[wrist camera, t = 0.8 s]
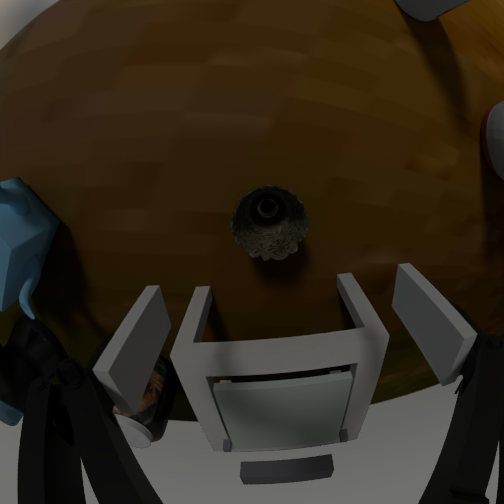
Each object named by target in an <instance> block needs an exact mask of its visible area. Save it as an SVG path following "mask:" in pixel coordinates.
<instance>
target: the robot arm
mask: <svg viewBox="0 0 504 504" xmlns="http://www.w3.org/2000/svg"><path fill="white" fill-rule="evenodd" d="M392 307H393V309H394V310H395V312H396V313H397V315H398V316H399V317H400V319H401V320H402V322H403V323H404V325H405V326H406V328H407V329H408V331H409V333H410V334H411V336H412V337H413V339H414V340H415V342H416V343H417V345H418V347H419V348H420V350H421V351H422V353H423V355H424V356H425V358H426V359H427V361H428V363H429V364H430V366H431V368H432V369H433V371H434V373H435V374H436V376H437V378H438V380H439V381H440V383H441V385H442V386H445V385H447V384H450V383H452V382H455V381H456V379H457V377H458V375H459V373H461V374H462V376H463V379H462V381H461V382H460V384H459V386H458V388H457V390H456V392H455V394H457V392H458V391H459V393H458V398H457V401H456V405H455V409H454V413H453V417H452V420H451V424H450V427H449V430H448V433H447V436H446V440H445V442H444V445H443V448H442V451H441V454H440V456H439V459H438V462H437V464H436V466H435V469H434V471H433V474H432V476H431V478H430V480H429V482H428V485H427V487H426V489H425V491H424V493H423V495H422V497H421V499H420V501H419V503H418V504H489V499H488V498H486V497H485V492H486V488H487V486H488V482H489V479H490V475H491V472H492V468H493V464H494V460H495V456H496V451H497V446H498V441H499V478H498V490H497V499H496V504H504V342H503V340H502V339H501V338H500V337H498V336H496V335H494V334H487V335H485V333H484V332H483V331H482V330H481V329H480V328H479V327H478V325H477V324H476V323H475V322H474V321H473V320H472V319H470V317H469V316H468V314H466V312H465V311H464V310H463V309H462V308H461V307H460V306H458V305H456V304H455V303H453V302H450V303H449V302H448V301H447V300H446V299H445V298H444V297H443V296H442V295H441V294H440V293H439V292H438V290H437V289H436V288H435V287H434V286H433V285H432V284H431V283H430V282H429V281H428V280H427V279H426V278H425V277H423V276H422V275H421V274H420V273H419V272H418V271H417V270H416V269H415V268H414V267H413V266H412V265H411V264H410V263H406V264H398V270H397V277H396V284H395V291H394V297H393V302H392ZM170 328H171V323H170V320H169V317H168V313H167V310H166V307H165V304H164V300H163V297H162V293H161V290H160V286H159V285H158V286H147V287H146V288H145V290H144V291H143V293H142V294H141V295H140V297H139V298H138V300H137V301H136V303H135V304H134V306H133V307H132V309H131V310H130V312H129V313H128V315H127V316H126V318H125V319H124V321H123V322H122V324H121V325H120V327H119V328H118V330H117V331H116V333H115V334H114V333H111V334H109V335H108V336H107V337H106V338H104V339H103V341H102V342H101V344H100V345H99V348H97V350H96V351H95V354H93V356H92V357H91V359H90V361H89V362H88V364H87V365H86V367H85V368H83V367H82V365H81V363H80V362H79V360H78V359H76V358H68V359H66V355H65V352H64V350H63V348H62V346H61V344H60V343H59V341H58V340H57V338H56V337H55V336H54V334H53V333H52V332H51V331H50V330H49V329H48V328H47V327H46V326H45V325H44V324H43V323H41V322H40V321H39V320H37V319H34V320H33V319H31V318H30V317H29V316H28V315H24V316H22V317H21V318H20V319H19V320H18V321H17V322H16V323H15V325H14V327H13V329H12V332H11V334H10V337H9V339H8V342H7V344H6V345H5V346H4V347H2V346H1V344H0V420H1V421H2V422H4V423H5V424H7V425H10V426H15V425H17V424H18V422H19V421H20V419H21V418H22V416H24V417H23V424H22V430H21V438H20V447H19V459H18V460H19V461H18V504H86V500H85V494H84V487H83V479H82V469H81V459H82V462H83V465H84V468H85V471H86V473H87V476H88V479H89V481H90V484H91V486H92V489H93V491H94V493H95V495H96V498H97V500H98V502H99V504H163V503H162V501H161V500H160V498H159V497H158V495H157V493H156V492H155V490H154V489H153V487H152V486H151V484H150V482H149V481H148V479H147V477H146V476H145V474H144V472H143V470H142V469H141V467H140V465H139V463H138V461H137V460H136V458H135V456H134V454H133V452H132V450H131V448H130V446H129V444H128V442H127V440H126V438H125V436H124V434H123V432H122V430H121V427H120V425H119V423H118V421H117V418H116V416H115V414H114V413H113V412H112V410H113V408H114V406H116V407H117V409H118V410H119V411H120V413H125V414H131V415H136V412H137V409H138V407H139V404H140V401H141V399H142V396H143V394H144V391H145V389H146V386H147V384H148V381H149V379H150V376H151V374H152V371H153V369H154V366H155V364H156V361H157V359H158V356H159V354H160V352H161V349H162V347H163V344H164V342H165V340H166V337H167V335H168V333H169V330H170ZM54 376H56V377H57V379H58V380H59V382H60V383H61V384H53V383H52V382H51V380H50V379H51V378H52V377H54Z"/></svg>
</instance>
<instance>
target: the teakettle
mask: <svg viewBox="0 0 504 504" xmlns="http://www.w3.org/2000/svg"><path fill="white" fill-rule="evenodd" d="M59 223H60V221H59V220H58V219H57V218H56V217H55V216H54V215H53V214H52V212H51V211H50V210H49V209H48V208H47V207H46V206H45V205H44V204H43V203H42V202H41V201H40V200H39V199H38V198H37V196H36V195H35V194H34V193H33V192H32V191H31V190H30V189H29V188H28V186H27V185H26V184H25V183H24V182H23V181H22V180H21V178H20V177H16V178H13V179H9V180H6V181H3V182H0V311H1V312H3V311H4V310H5V309H7V308H8V307H9V306H10V305H11V304H12V303H13V302H14V301H15V300H17V299H18V298H19V301H20V305H21V307H22V309H23V310H24V312H25V313H26V314H27V315H28V316H29V317H30V318H31V319H33V320H34V319H35V317H34V314H33V312H32V309H31V306H30V299H31V296H32V293H33V292H34V290H35V288H36V286H37V284H38V282H39V279H40V276H41V271H42V268H43V265H44V262H45V260H46V257H47V254H48V251H49V248H50V246H51V243H52V240H53V238H54V235H55V233H56V231H57V228H58V225H59Z"/></svg>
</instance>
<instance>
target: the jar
mask: <svg viewBox="0 0 504 504" xmlns="http://www.w3.org/2000/svg"><path fill="white" fill-rule="evenodd" d="M178 383H179V377H178V374H177V372H176V370H175V368H174V367H173V365H172V364H171V363H170V362H169V361H167V360H166V359H165V358H163V357H161V356H160V355H159V356H158V359H157V361H156V364H155V366H154V369H153V371H152V374H151V376H150V379H149V381H148V384H147V386H146V389H145V391H144V394H143V396H142V399H141V401H140V404H139V407H138V409H137V412H136V415H131V414H125V413H120V411H119V410H118V409H117V407H116V406H114V408H113V410H112V412H113V413H114V414H115V416H116V418H117V421H118V423H119V425H120V427H121V430H122V432H123V434H124V436H125V438H126V440H127V442H128V444H129V446H132V447H137V448H147V447H149V446H150V445H151V442H155V441H158V440H160V439H161V438H162V436H163V434H164V432H165V429H166V426H167V423H168V419H169V416H170V412H171V409H172V405H173V402H174V398H175V395H176V391H177V387H178Z"/></svg>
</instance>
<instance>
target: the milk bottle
mask: <svg viewBox="0 0 504 504" xmlns="http://www.w3.org/2000/svg"><path fill="white" fill-rule="evenodd" d="M395 1H396V3H397V4H398V5H399V7H400V8H401V9H402V10H403V11H404V12H406V13H407V14H408V15H410V16H411V17H413V18H415V19H417V20H421V21H431V20H433V19H435V18H437V17H439V16H441V15H443V14H445V13H447V12H449V11H451V10H453V9H455V8H457V7H459V6H461V5H463V4H465V3H466V2H468V1H470V0H395Z"/></svg>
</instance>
